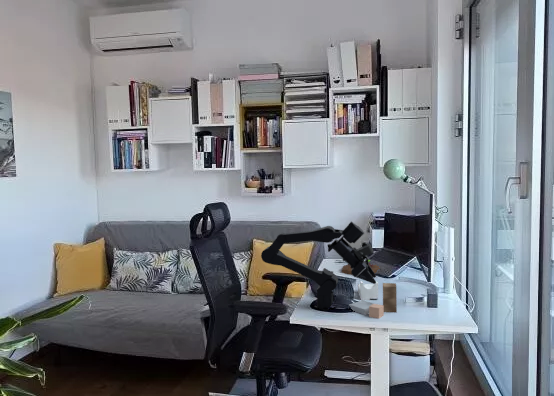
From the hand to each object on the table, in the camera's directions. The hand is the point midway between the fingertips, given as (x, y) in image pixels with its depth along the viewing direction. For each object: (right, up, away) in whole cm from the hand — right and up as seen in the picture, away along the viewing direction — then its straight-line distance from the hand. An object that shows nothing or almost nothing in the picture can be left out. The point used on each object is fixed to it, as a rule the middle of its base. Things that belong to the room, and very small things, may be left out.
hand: (375, 279), depth 182 cm
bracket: (+1, -11, +20) cm, 23 cm away
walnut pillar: (+5, -12, 0) cm, 13 cm away
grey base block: (-4, -12, +1) cm, 13 cm away
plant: (+6, -7, +64) cm, 64 cm away
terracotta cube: (-1, -13, -6) cm, 14 cm away
